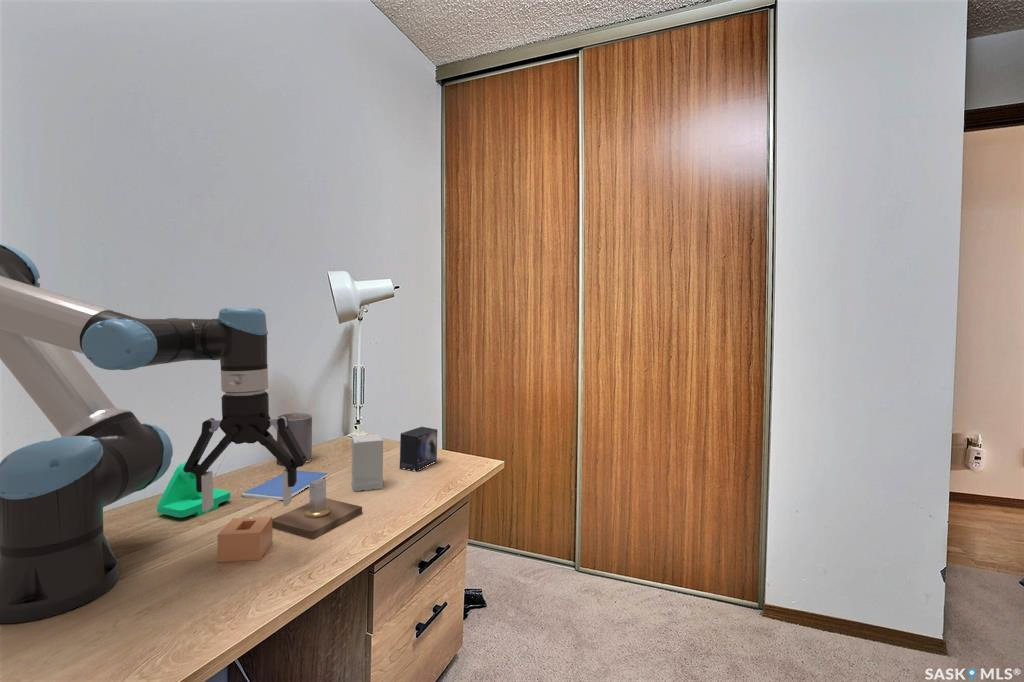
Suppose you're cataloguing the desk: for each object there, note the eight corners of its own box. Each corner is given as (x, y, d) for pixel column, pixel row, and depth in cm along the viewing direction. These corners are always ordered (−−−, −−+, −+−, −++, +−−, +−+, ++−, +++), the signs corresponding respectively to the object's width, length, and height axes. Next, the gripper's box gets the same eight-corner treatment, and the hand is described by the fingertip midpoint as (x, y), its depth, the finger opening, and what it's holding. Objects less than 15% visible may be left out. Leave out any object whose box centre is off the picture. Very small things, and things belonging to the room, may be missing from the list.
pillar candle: (270, 461, 142) (270, 412, 141) (301, 454, 150) (301, 407, 149) (287, 468, 136) (287, 417, 135) (318, 460, 144) (319, 411, 143)
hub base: (312, 539, 94) (312, 497, 94) (269, 527, 99) (269, 486, 98) (362, 513, 107) (362, 475, 106) (322, 503, 112) (322, 467, 111)
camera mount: (181, 523, 100) (180, 475, 100) (157, 517, 103) (156, 470, 102) (232, 502, 112) (232, 459, 111) (209, 497, 114) (208, 455, 114)
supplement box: (383, 488, 122) (383, 440, 121) (352, 492, 119) (353, 442, 118) (380, 479, 129) (380, 433, 128) (351, 482, 126) (351, 435, 125)
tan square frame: (260, 559, 86) (260, 531, 86) (217, 562, 85) (217, 533, 84) (272, 541, 93) (272, 515, 92) (233, 543, 91) (233, 517, 91)
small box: (416, 472, 135) (417, 436, 135) (398, 469, 138) (398, 433, 137) (438, 462, 145) (438, 428, 144) (420, 459, 147) (421, 426, 147)
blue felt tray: (290, 473, 134) (290, 468, 134) (331, 476, 132) (331, 472, 132) (239, 498, 115) (239, 493, 115) (286, 503, 113) (286, 498, 113)
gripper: (158, 397, 81) (162, 519, 82) (312, 393, 86) (314, 509, 87) (180, 390, 89) (183, 502, 90) (321, 387, 93) (323, 494, 94)
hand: (248, 506), depth 88 cm, fingers open, 13 cm apart
